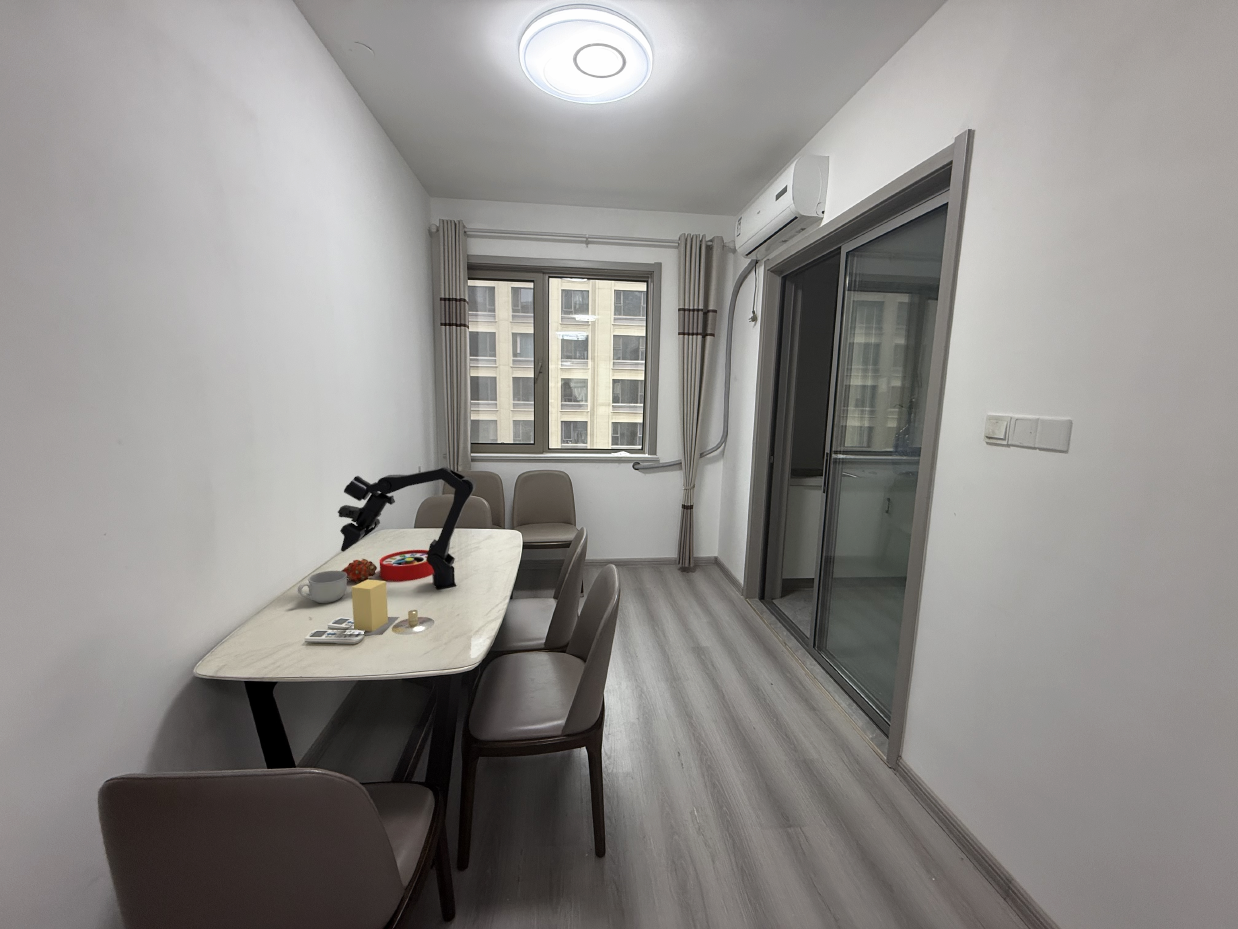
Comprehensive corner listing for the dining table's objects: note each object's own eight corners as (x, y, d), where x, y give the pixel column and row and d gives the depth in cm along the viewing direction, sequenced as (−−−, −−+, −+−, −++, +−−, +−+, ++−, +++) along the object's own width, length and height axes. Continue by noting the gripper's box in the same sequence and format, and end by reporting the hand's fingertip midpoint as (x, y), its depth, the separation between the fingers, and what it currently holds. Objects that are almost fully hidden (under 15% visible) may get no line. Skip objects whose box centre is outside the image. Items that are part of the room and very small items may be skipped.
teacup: (342, 590, 162) (341, 567, 161) (352, 599, 155) (351, 575, 154) (294, 602, 153) (292, 577, 152) (302, 612, 145) (300, 587, 144)
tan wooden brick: (370, 619, 138) (367, 579, 136) (388, 622, 136) (385, 581, 135) (354, 629, 132) (351, 587, 131) (372, 631, 131) (370, 589, 129)
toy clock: (445, 558, 180) (389, 570, 166) (446, 573, 180) (390, 586, 167) (425, 546, 194) (372, 556, 181) (426, 560, 195) (373, 571, 182)
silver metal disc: (430, 614, 142) (429, 600, 142) (438, 629, 133) (437, 614, 132) (389, 623, 136) (388, 609, 136) (394, 639, 127) (394, 623, 126)
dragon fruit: (380, 583, 173) (343, 592, 169) (379, 564, 179) (344, 572, 175) (374, 570, 167) (336, 579, 163) (374, 551, 173) (336, 559, 169)
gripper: (361, 491, 169) (338, 527, 169) (338, 501, 151) (312, 542, 151) (390, 507, 171) (366, 543, 171) (371, 519, 153) (344, 560, 153)
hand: (348, 547), depth 162 cm, fingers open, 9 cm apart
